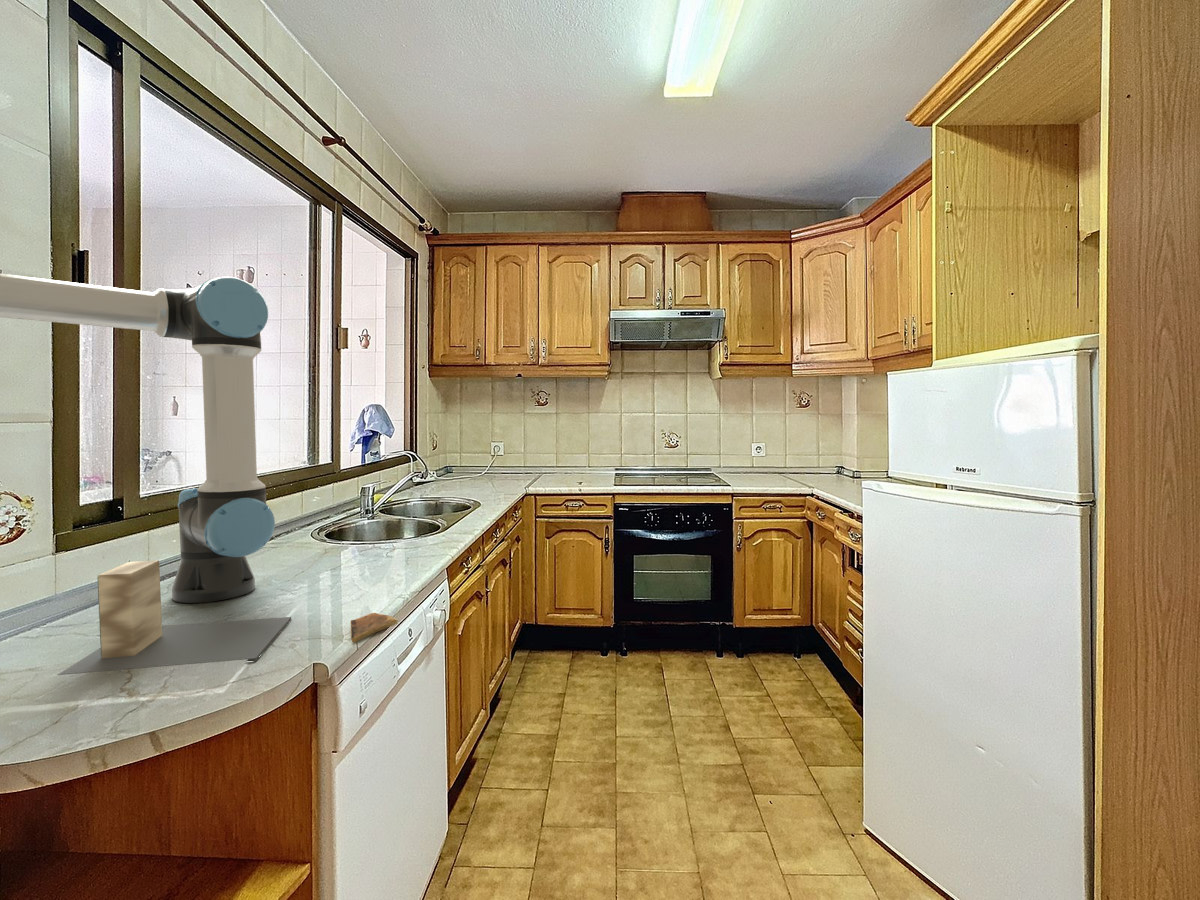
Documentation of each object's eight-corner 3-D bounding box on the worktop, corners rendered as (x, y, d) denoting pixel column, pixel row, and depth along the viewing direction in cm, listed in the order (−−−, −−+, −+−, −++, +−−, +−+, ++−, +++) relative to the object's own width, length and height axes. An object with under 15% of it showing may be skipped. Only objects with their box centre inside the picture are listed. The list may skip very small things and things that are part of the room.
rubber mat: (58, 678, 87) (57, 674, 87) (131, 631, 107) (131, 628, 107) (255, 661, 93) (255, 658, 93) (291, 620, 113) (291, 616, 113)
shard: (351, 646, 101) (351, 636, 101) (319, 639, 104) (319, 629, 104) (399, 626, 111) (399, 616, 110) (369, 620, 114) (368, 611, 114)
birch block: (100, 658, 93) (96, 575, 93) (131, 637, 102) (127, 561, 101) (134, 655, 94) (130, 573, 94) (162, 635, 103) (159, 560, 102)
